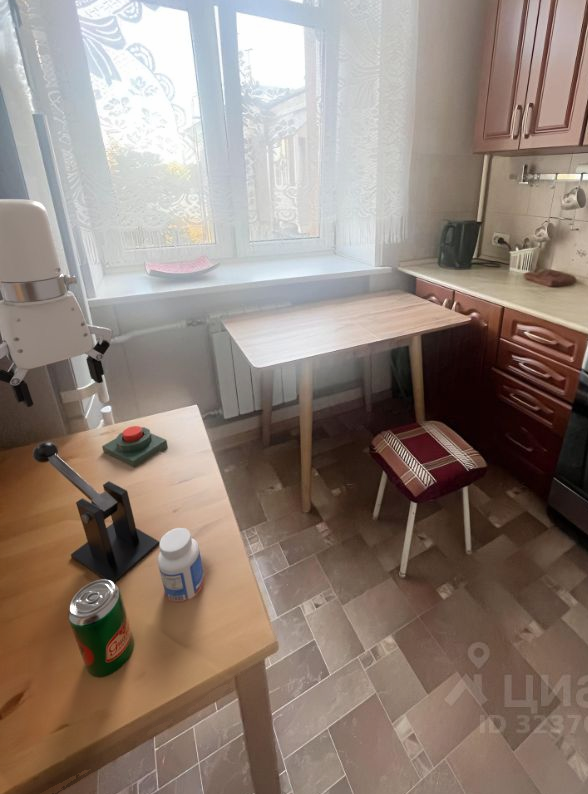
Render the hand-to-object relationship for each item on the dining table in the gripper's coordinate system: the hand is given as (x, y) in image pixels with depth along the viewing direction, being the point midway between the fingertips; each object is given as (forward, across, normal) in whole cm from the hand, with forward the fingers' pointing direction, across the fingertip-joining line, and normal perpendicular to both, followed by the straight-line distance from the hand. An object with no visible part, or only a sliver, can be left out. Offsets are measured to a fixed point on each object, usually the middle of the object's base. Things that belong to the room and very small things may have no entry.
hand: (64, 391), depth 64 cm
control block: (+24, -12, -9) cm, 28 cm away
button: (+20, -12, -9) cm, 25 cm away
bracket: (+24, +2, +14) cm, 27 cm away
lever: (+13, +4, +7) cm, 15 cm away
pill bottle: (+24, -1, +27) cm, 36 cm away
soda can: (+24, +10, +30) cm, 39 cm away
